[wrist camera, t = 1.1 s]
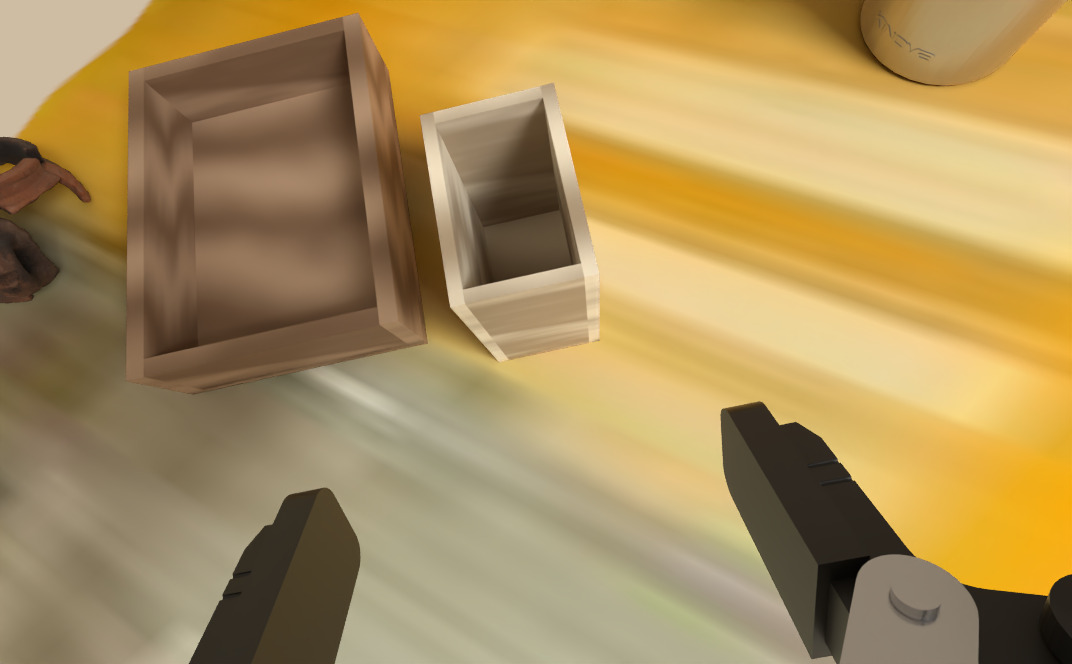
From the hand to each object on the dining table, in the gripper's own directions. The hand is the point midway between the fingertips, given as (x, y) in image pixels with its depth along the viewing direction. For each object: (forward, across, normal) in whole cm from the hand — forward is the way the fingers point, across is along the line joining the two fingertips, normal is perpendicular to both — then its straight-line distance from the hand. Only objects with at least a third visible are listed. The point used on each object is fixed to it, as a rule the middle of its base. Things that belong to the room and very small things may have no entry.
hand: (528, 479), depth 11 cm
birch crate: (+22, 0, +6) cm, 23 cm away
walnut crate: (+28, +14, 0) cm, 31 cm away
